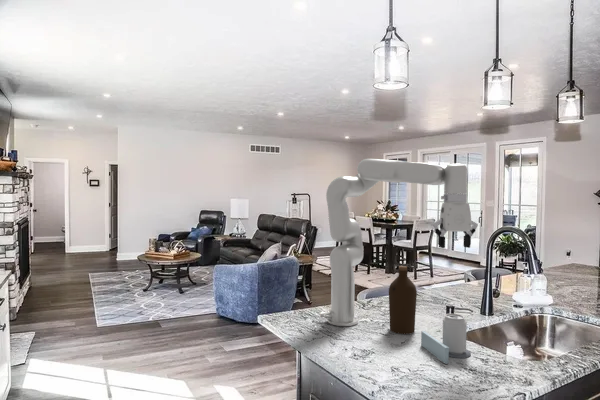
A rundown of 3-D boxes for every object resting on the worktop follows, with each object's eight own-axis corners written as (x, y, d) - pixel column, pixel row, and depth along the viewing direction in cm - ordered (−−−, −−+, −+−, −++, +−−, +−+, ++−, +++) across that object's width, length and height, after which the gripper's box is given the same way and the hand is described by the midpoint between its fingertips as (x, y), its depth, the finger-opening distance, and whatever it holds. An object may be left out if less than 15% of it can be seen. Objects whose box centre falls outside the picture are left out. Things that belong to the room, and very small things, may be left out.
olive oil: (413, 336, 156) (414, 269, 156) (385, 332, 160) (386, 267, 160) (418, 328, 166) (419, 265, 165) (391, 324, 170) (392, 263, 170)
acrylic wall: (444, 363, 132) (445, 347, 131) (421, 345, 147) (421, 331, 147) (448, 363, 132) (448, 347, 132) (424, 345, 147) (424, 330, 147)
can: (460, 347, 145) (461, 312, 145) (470, 355, 137) (470, 319, 137) (439, 347, 145) (439, 312, 144) (447, 355, 137) (447, 319, 137)
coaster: (448, 359, 135) (448, 357, 135) (433, 347, 145) (433, 346, 145) (477, 357, 137) (477, 356, 137) (460, 346, 147) (460, 345, 147)
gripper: (438, 199, 143) (437, 249, 144) (483, 199, 147) (482, 248, 147) (427, 198, 151) (426, 246, 151) (471, 199, 154) (470, 245, 154)
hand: (454, 247), depth 149 cm, fingers open, 9 cm apart
